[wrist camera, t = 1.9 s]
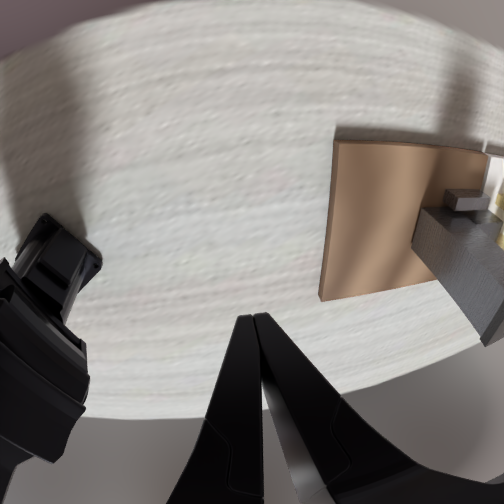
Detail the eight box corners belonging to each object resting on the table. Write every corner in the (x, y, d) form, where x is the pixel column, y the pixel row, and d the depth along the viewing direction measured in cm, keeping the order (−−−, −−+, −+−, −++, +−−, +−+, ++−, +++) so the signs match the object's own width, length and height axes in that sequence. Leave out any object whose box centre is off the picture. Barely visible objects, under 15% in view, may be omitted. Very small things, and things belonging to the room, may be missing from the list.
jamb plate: (449, 270, 28) (454, 275, 27) (484, 152, 20) (491, 156, 19) (491, 260, 29) (495, 265, 28) (523, 160, 21) (529, 164, 20)
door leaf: (318, 294, 27) (321, 302, 26) (333, 139, 19) (339, 143, 18) (446, 270, 28) (451, 276, 27) (481, 151, 20) (488, 155, 19)
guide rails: (425, 257, 25) (435, 268, 23) (445, 188, 21) (458, 198, 19) (459, 251, 25) (468, 261, 24) (478, 189, 21) (491, 197, 20)
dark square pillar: (409, 249, 23) (485, 347, 14) (420, 206, 21) (514, 301, 12) (478, 239, 24) (545, 311, 15) (489, 203, 22) (566, 273, 13)
